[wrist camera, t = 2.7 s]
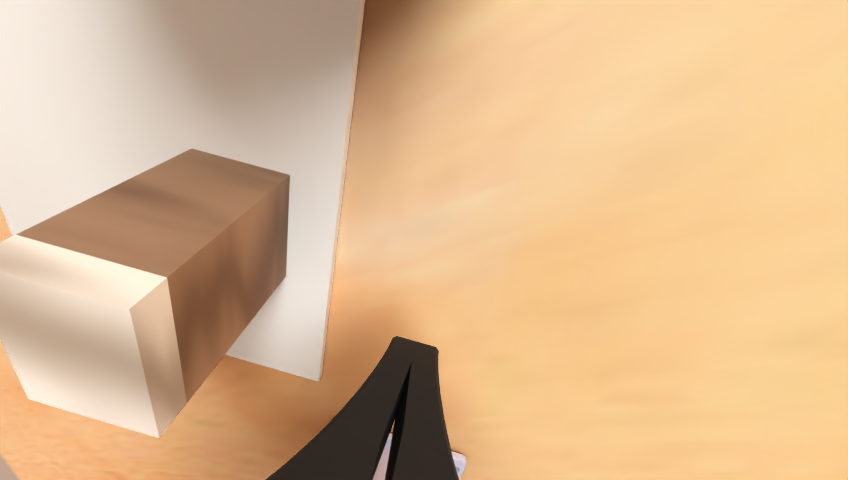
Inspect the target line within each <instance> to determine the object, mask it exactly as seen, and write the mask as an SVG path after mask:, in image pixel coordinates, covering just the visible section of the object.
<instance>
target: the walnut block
mask: <svg viewBox="0 0 848 480" xmlns="http://www.w3.org/2000/svg"><path fill="white" fill-rule="evenodd" d="M289 187H290V175H288V174H284V173H281V172H277V171H273V170H270V169H266V168H262V167H258V166H255V165H251V164H247V163H244V162H240V161H236V160H233V159H229V158H225V157H222V156H218V155H214V154H211V153H207V152H203V151H199V150H196V149H189V150H187V151H185V152H183V153H181V154H179V155H177V156H175V157H173V158H171V159H169V160H167V161H165V162H163V163H161V164H159V165H157V166H155V167H153V168H151V169H149V170H147V171H145V172H143V173H140V174H138V175H136V176H134V177H132V178H130V179H128V180H126V181H124V182H122V183H120V184H118V185H116V186H114V187H112V188H110V189H108V190H106V191H104V192H102V193H100V194H98V195H96V196H94V197H92V198H89V199H87V200H85V201H83V202H81V203H79V204H77V205H75V206H73V207H71V208H69V209H67V210H65V211H63V212H61V213H59V214H57V215H55V216H53V217H51V218H49V219H47V220H45V221H43V222H41V223H38V224H36V225H34V226H32V227H30V228H28V229H26V230H24V231H22V232H20V233H18V234H16V235H14V236H12V237H10V238H8V239H6V240H4V241H2V242H0V341H1V343H2V345H3V347H4V349H5V351H6V353H7V355H8V357H9V359H10V362H11V364H12V366H13V368H14V370H15V372H16V374H17V376H18V378H19V380H20V382H21V384H22V386H23V389H24V391H25V393H26V395H27V397H28V399H30V400H33V401H36V402H40V403H43V404H46V405H50V406H53V407H56V408H60V409H63V410H66V411H70V412H73V413H76V414H80V415H83V416H86V417H90V418H93V419H96V420H100V421H103V422H107V423H110V424H113V425H117V426H120V427H123V428H127V429H130V430H133V431H137V432H140V433H143V434H147V435H150V436H153V437H157V438H160V437H161V435H162V434H163V433H164V432H165V430H166V429H167V428H168V426H169V425H170V424H171V423H172V421H173V420H174V419H175V418H176V416H177V415H178V414H179V412H180V411H181V410H182V409H183V407H184V406H185V405H186V403H187V402H188V401H189V400H190V398H191V397H192V396H193V395H194V393H195V392H196V391H197V389H198V388H199V387H200V386H201V384H202V383H203V382H204V380H205V379H206V378H207V377H208V375H209V374H210V373H211V372H212V370H213V369H214V368H215V366H216V365H217V364H218V363H219V361H220V360H221V359H222V357H223V356H224V355H225V354H226V352H227V351H228V350H229V349H230V347H231V346H232V345H233V343H234V342H235V341H236V340H237V338H238V337H239V336H240V334H241V333H242V332H243V331H244V329H245V328H246V327H247V326H248V324H249V323H250V322H251V320H252V319H253V318H254V317H255V315H256V314H257V313H258V311H259V310H260V309H261V308H262V306H263V305H264V304H265V303H266V301H267V300H268V299H269V297H270V296H271V295H272V294H273V292H274V291H275V290H276V288H277V287H278V286H279V285H280V283H281V282H282V281H283V280H284V278H285V277H286V266H287V239H288V213H289Z"/></svg>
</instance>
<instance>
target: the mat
mask: <svg viewBox="0 0 848 480" xmlns="http://www.w3.org/2000/svg"><path fill="white" fill-rule="evenodd" d="M364 7H365V0H0V205H1V208H2V210H3V213H4V216H5V218H6V221H7V223H8V226H9V229H10V231H11V234H12V236H14V235H16V234H18V233H20V232H22V231H24V230H26V229H28V228H30V227H32V226H34V225H36V224H38V223H41V222H43V221H45V220H47V219H49V218H51V217H53V216H55V215H57V214H59V213H61V212H63V211H65V210H67V209H69V208H71V207H73V206H75V205H77V204H79V203H81V202H83V201H85V200H87V199H89V198H92V197H94V196H96V195H98V194H100V193H102V192H104V191H106V190H108V189H110V188H112V187H114V186H116V185H118V184H120V183H122V182H124V181H126V180H128V179H130V178H132V177H134V176H136V175H138V174H140V173H143V172H145V171H147V170H149V169H151V168H153V167H155V166H157V165H159V164H161V163H163V162H165V161H167V160H169V159H171V158H173V157H175V156H177V155H179V154H181V153H183V152H185V151H187V150H189V149H196V150H199V151H203V152H207V153H211V154H214V155H218V156H222V157H225V158H229V159H233V160H236V161H240V162H244V163H247V164H251V165H255V166H258V167H262V168H266V169H270V170H273V171H277V172H281V173H284V174H288V175H290V187H289V213H288V239H287V266H286V277H285V278H284V280H283V281H282V282H281V283H280V285H279V286H278V287H277V288H276V290H275V291H274V292H273V294H272V295H271V296H270V297H269V299H268V300H267V301H266V303H265V304H264V305H263V306H262V308H261V309H260V310H259V311H258V313H257V314H256V315H255V317H254V318H253V319H252V320H251V322H250V323H249V324H248V326H247V327H246V328H245V329H244V331H243V332H242V333H241V334H240V336H239V337H238V338H237V340H236V341H235V342H234V343H233V345H232V346H231V347H230V349H229V350H228V351H227V352H226V354H225V355H228V356H231V357H235V358H238V359H241V360H245V361H248V362H252V363H255V364H259V365H262V366H266V367H269V368H273V369H276V370H280V371H283V372H286V373H290V374H293V375H297V376H300V377H304V378H307V379H311V380H314V381H318V382H319V380H320V378H321V376H322V370H323V362H324V353H325V344H326V336H327V327H328V318H329V310H330V301H331V292H332V284H333V275H334V267H335V258H336V249H337V241H338V232H339V223H340V215H341V206H342V197H343V189H344V180H345V171H346V163H347V154H348V145H349V137H350V128H351V119H352V111H353V102H354V93H355V85H356V76H357V67H358V59H359V50H360V41H361V33H362V24H363V15H364Z"/></svg>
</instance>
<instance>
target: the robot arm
mask: <svg viewBox="0 0 848 480" xmlns="http://www.w3.org/2000/svg"><path fill="white" fill-rule="evenodd" d="M438 352H439V351H438V350H437V348H436V347H433V346H430V345H426V344H423V343H419V342H416V341H412V340H409V339H405V338H402V337H398V336H396V337H394V338H393V339H392V341H391V343H390V345H389V347H388V349H387V351H386V352H385V354H384V356H383V357H382V359H381V360H380V362H379V363H378V365H377V366H376V368H375V369H374V370H373V372H372V373H371V374H370V376H369V377H368V378H367V380H366V381H365V382H364V384H363V385H362V386H361V388H360V389H359V390H358V391H357V392H356V394H355V395H354V396H353V397H352V398H351V399H350V401H349V402H348V403H347V404H346V405H345V406H344V407H343V409H342V410H341V411H340V412H339V413H338V414H337V415H336V416H335V417H334V418H333V419H332V421H331V422H330V423H329V424H328V425H327V426H326V427H325V428H324V429H323V430H322V431H321V432H320V433H319V434H318V435H317V436H316V437H315V438H313V439H312V440H311V441H310V442H309V443H308V444H307V445H306V446H305V447H304V448H303V449H302V450H300V451H299V452H298V453H297V454H296V455H295V456H294V457H293V458H291V459H290V460H289V461H288V462H287V463H286V464H285V465H283V466H282V467H281V468H280V469H278V470H277V471H276V472H275V473H273V474H272V475H271V476H270V477H268V478H267V479H266V480H460V477H461V475H462V473H463V471H464V469H465V467H466V460H467V459H466V457H465V456H464V455H462V454H460V453H456V452H453V451H451V448H450V444H449V439H448V435H447V430H446V425H445V420H444V414H443V408H442V401H441V394H440V386H439V374H438ZM394 420H395V423H394ZM393 423H394V428H393V434H391V433H390V431H391V428H392V425H393Z"/></svg>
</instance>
